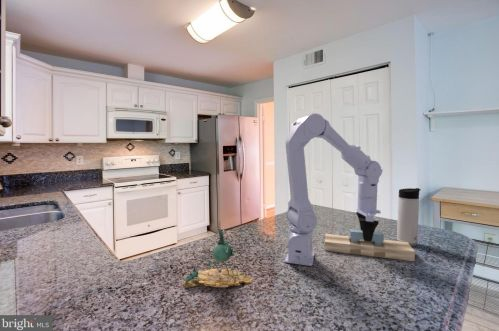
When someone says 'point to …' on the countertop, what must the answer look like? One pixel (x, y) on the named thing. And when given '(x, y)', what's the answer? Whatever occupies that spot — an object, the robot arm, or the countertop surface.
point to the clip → (358, 234)
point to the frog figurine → (217, 276)
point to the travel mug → (408, 215)
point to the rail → (370, 247)
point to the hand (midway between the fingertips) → (366, 237)
